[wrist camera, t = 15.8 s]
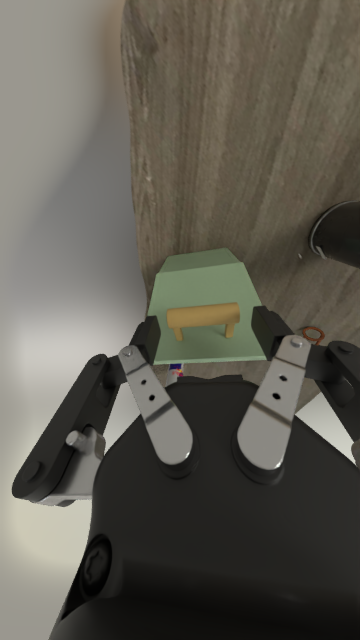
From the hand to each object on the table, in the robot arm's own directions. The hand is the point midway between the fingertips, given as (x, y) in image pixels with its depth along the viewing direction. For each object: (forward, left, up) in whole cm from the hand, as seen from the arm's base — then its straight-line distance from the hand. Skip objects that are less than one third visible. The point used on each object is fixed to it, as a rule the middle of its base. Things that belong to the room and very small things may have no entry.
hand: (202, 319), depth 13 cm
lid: (0, +3, -7) cm, 7 cm away
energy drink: (+11, +38, -27) cm, 48 cm away
